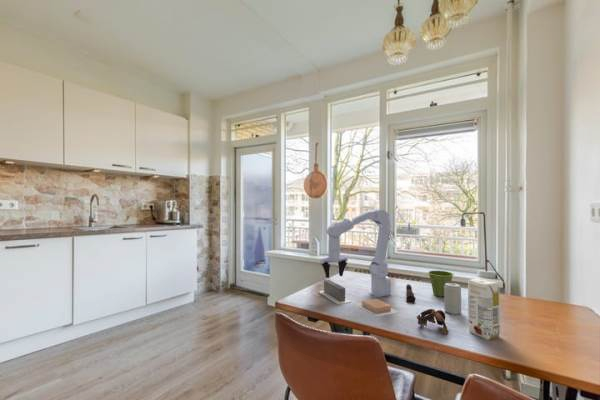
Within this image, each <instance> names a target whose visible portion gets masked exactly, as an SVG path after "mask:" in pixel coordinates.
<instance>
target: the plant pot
mask: <svg viewBox="0 0 600 400" xmlns="http://www.w3.org/2000/svg"><path fill="white" fill-rule="evenodd" d="M427 273H428V275H429V279H430V283H431V287H432V288H431V289H432V293H433V295H434V296H436V297H439V296H440V297H444V286H445V283H452V280H453V276H454V273H453V272H450V271H447V270H446V271H445V270H428V272H427ZM440 297H439V298H440Z"/></svg>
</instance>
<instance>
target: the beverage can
mask: <svg viewBox="0 0 600 400" xmlns="http://www.w3.org/2000/svg"><path fill="white" fill-rule="evenodd" d="M443 298H444V299H443V303H444V304H443V305H444V306H443V307H444V308H443V309H444V311H445V312H446V313H448V314H449V313H450V315H460V314H461V313H462V288H461V285H460V284H458V283H455V282H451V283H445V286H444V296H443Z"/></svg>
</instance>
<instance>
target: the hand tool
mask: <svg viewBox="0 0 600 400" xmlns="http://www.w3.org/2000/svg"><path fill="white" fill-rule="evenodd" d="M412 289H413V288H412V285H411V284H406V289H405V290H406V291H405V292H406V298H405V299H406V303H412V304H415V302H416V297H415V294H414V292H413V290H412Z"/></svg>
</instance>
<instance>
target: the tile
mask: <svg viewBox="0 0 600 400" xmlns="http://www.w3.org/2000/svg"><path fill="white" fill-rule="evenodd" d="M361 303H362V305H363V306H365V307H366V308H368V309H370V310H372V311H373V312H375V313H378V312H384V311H390V310H391V308H392V305H391V304H389V303H386V302H385V301H382V300H380V299H378V298H370V299H364V300H361Z"/></svg>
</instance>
